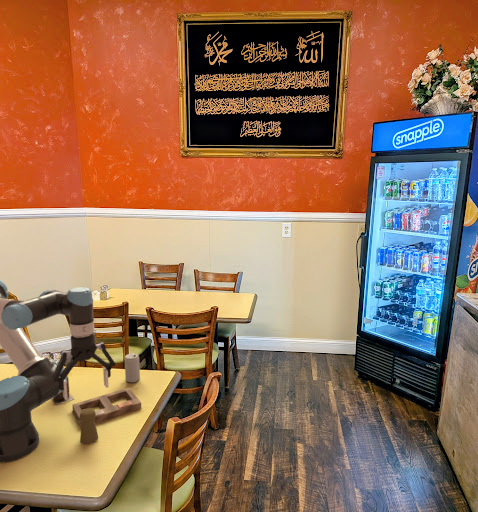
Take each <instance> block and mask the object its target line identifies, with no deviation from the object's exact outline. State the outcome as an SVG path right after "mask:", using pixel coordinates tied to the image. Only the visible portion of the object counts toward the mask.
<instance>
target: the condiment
mask: <svg viewBox="0 0 478 512" xmlns="http://www.w3.org/2000/svg"><path fill="white" fill-rule="evenodd" d="M69 380H70V379H69V374H68V375H67V398H68V399H67V400H65V399H64V397H63V391H62V392H61V393H59V394H58V395H57V396H56V397H54V398H51V399H50V400H52V402H53V403H54V405H55V406H56V405H61V404H64V403H68V402H70V401H72V400H75V399H74V397H73V395H72V393H70V384H69V383H70V382H69Z"/></svg>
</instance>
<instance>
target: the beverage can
mask: <svg viewBox="0 0 478 512" xmlns="http://www.w3.org/2000/svg"><path fill="white" fill-rule="evenodd" d="M124 357H125V358H124V371H125V372H124V374H125V381H127V382H128V383H137V382H138V381H139V380H140V379H141V373H140V371H141V370H140V366H141V365H140V356H139V353H137V352H136V353H135V352H132V353H128V354H126V355H125V356H124Z"/></svg>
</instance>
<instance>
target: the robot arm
mask: <svg viewBox="0 0 478 512" xmlns="http://www.w3.org/2000/svg"><path fill="white" fill-rule="evenodd" d="M8 298H9V291H8V286H7V285H6V283H5V282H4V280H2V279H0V346H1V348H2V349H3V351H4V352H5V353H6V356H8V358H9V359H10V360H11V362H12V364H13V365H14V366H15V368H16V370H17V371H18V372H17V375H15V376H14V375H12V376H11V377H6V378H4V379H1V380H0V463H10V462H13V461H17V460H20V459H22V458H24V457H27V456H28V455H30V454H31V453H32V452H33V451H34V450H35V449H37V447H38V446H39V444H40V434H39V431H38V430H37V428H36V426H35V424H34V422H33V419H32V411H33V410H35V409H36V408H38V407H40V406H41V405H43V404H45V403H46V402H49V400H52V399H51V398H54V397H56V396H57V395H58V394H59V393H61V392H62V391H63V397H64V399H65V400H67V399H68V398H67V375H68V376H69V374H70V372H71V371H72V370H73V368H74V367H75V366H77V364H78V363H79V362H84V361H89V360H91V359H94V360H95V361H96V362H98V363H99V364H100V365H101V366H103V367H102V372H103V385H104V387H105V388H106V389H107V388H109V387H110V386H109V378H111V375H112V373H111V370H112V367H115V366H116V365H117V364H116V362H115V361H114V359H113V358H112V357H111V355H110V353H109V352H108V351H107V349H106V345H105V343H104V342H103V341H100V342H99V343H97V344H96V336H95V335H96V334H95V318H94V298H93V292H92V289H91V288H89V287H85V286H84V287H83V286H82V287H81V286H80V287H78V286H77V287H73V288H71V289H68V291H67V292H65V291H60V290H54V289H53V290H45V291H42V293H40V295H39V296H37V297H33V298H30V299H27V300H18V299H10V298H9V299H8ZM57 315H63V316H68V319H69V321H68V322H69V329H70V331H69V333H70V346H71V348H70V349H69V350H64V349H63V350H61V352H60V353H61V354H60V359H59V361H51V359H50V358H49V357H47V356H42V355H41V354H40V352H39V351H38V350H37V348H36V347H35V345H34V344H33V342H32V341H31V340H30V338H29V337H28V335H27V333H26V332H25V330H23V328H25V327H28V326H31V325H33V324H35V323H38V322H41V321H43V320H46V319H48V318H51V317H54V316H57ZM97 349H98V350H99V351H101V352H102V354H103V355H104V356H105V358H106V359H107V361H108V362H109V363H108V362H106V361H105V360H104V359H103V358H101V357H100V356H99V355H98V354H97V353H95V352H96V351H97ZM70 355H71V356H72V357H71V358H70V361H68V363H67V364H66V361H67V359H68V358H69V357H70ZM65 365H66V366H65ZM64 366H65V367H64Z"/></svg>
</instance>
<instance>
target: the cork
mask: <svg viewBox="0 0 478 512" xmlns="http://www.w3.org/2000/svg"><path fill="white" fill-rule="evenodd" d="M95 411H96V410H95V409H94V408H92V407H90V408H87V409H84V410H82V412H81V413H80V420H81V421H82V424H81V425H80V439H79V442H80V444H82V445H85V446H87V445H92V444H94V443H96V442H97V441H98V439H99V435H98V434H99V433H98V431H97V430H98V429H97V425H96V424H97V423H95V420H94V418H95V416H96V413H95Z"/></svg>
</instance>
